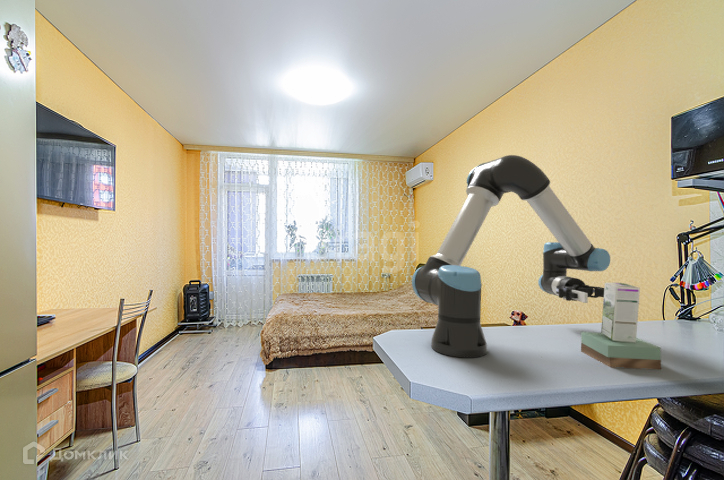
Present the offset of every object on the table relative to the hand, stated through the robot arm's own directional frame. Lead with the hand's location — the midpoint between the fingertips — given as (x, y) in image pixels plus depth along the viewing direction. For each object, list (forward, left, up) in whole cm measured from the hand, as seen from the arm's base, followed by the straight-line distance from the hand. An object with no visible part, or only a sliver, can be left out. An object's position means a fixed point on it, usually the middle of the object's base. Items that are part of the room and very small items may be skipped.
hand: (611, 298), depth 91 cm
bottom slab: (-1, -4, -16) cm, 17 cm away
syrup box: (-1, -4, -10) cm, 11 cm away
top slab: (-1, -4, -13) cm, 14 cm away
